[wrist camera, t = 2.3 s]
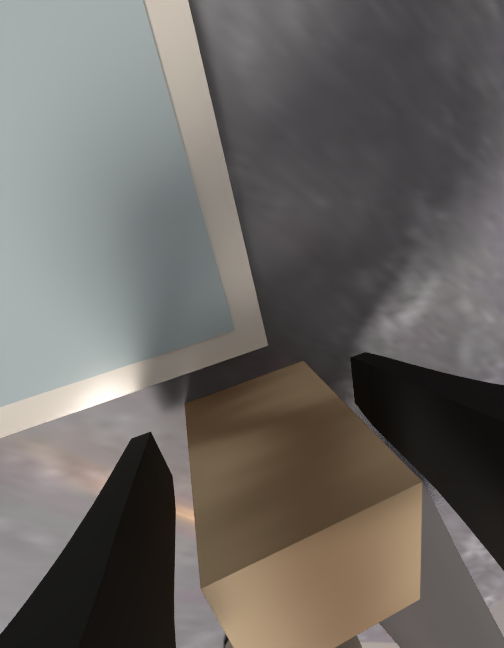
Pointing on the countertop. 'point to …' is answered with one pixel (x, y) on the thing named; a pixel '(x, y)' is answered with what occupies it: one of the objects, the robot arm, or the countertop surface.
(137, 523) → the robot arm
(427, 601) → the flask
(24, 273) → the picture frame
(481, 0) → the countertop surface
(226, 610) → the oak block
